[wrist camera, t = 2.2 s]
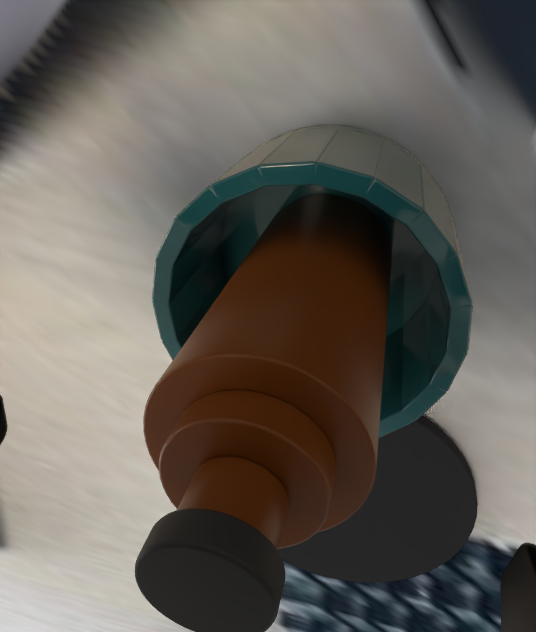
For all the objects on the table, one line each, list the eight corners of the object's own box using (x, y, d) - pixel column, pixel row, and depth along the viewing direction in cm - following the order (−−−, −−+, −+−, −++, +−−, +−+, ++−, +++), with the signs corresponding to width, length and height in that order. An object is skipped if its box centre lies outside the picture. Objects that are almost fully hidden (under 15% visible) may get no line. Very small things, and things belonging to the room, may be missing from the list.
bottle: (418, 270, 16) (434, 658, 6) (316, 334, 18) (205, 704, 8) (335, 165, 15) (197, 426, 5) (237, 245, 17) (4, 542, 7)
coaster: (530, 530, 21) (532, 543, 20) (322, 593, 26) (320, 604, 26) (366, 339, 18) (365, 348, 18) (173, 452, 24) (168, 461, 23)
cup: (506, 274, 16) (540, 364, 12) (311, 384, 20) (285, 481, 16) (349, 62, 14) (324, 77, 10) (169, 229, 18) (96, 291, 14)
